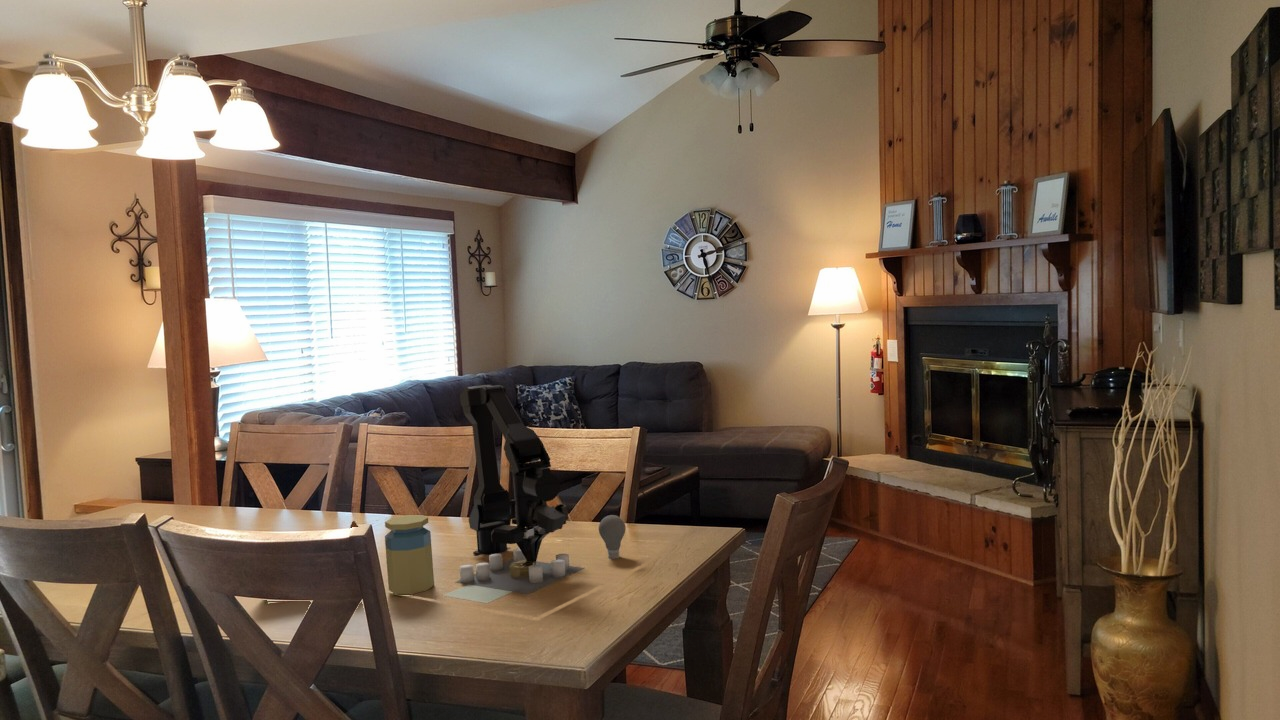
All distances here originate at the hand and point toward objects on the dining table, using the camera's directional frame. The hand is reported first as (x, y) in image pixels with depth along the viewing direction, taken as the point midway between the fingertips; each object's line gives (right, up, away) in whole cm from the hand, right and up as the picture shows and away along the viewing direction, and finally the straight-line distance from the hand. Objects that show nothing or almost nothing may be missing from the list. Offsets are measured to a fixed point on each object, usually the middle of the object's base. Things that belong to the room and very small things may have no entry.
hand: (532, 565), depth 197 cm
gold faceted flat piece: (-2, -1, -3) cm, 3 cm away
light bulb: (+17, 0, +7) cm, 19 cm away
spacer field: (-2, -2, -3) cm, 4 cm away
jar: (-24, -4, -8) cm, 26 cm away
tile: (-9, -3, -14) cm, 17 cm away
